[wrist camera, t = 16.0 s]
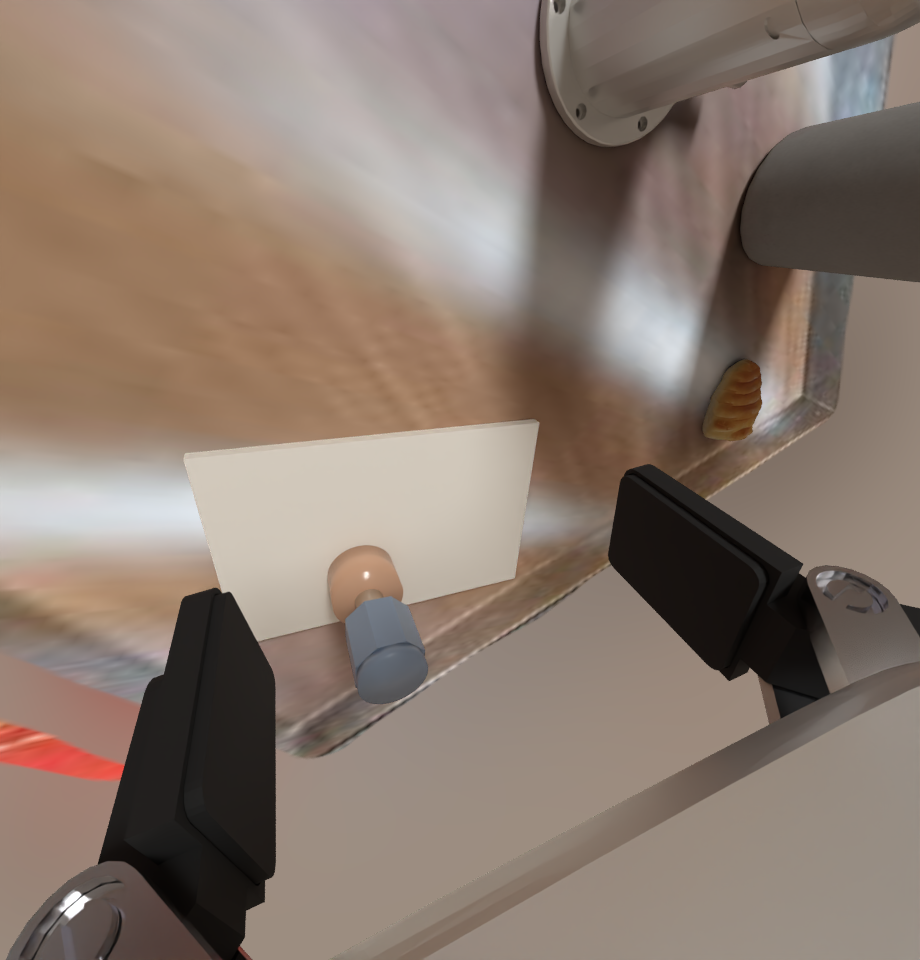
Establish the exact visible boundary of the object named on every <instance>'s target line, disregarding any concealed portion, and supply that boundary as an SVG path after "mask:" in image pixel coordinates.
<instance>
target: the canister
mask: <svg viewBox="0 0 920 960" xmlns="http://www.w3.org/2000/svg"><path fill="white" fill-rule="evenodd" d="M740 232H741V238H742V245H743V248H744V250H745V252H746V253H747V255H748V257H749V258H750V259H751V260H753V261H755V262H756V263H758V264H760V265H764V266H773V267H783V268H792V269H801V270H810V271H819V272H829V273H838V274H847V275H857V276H866V277H876V278H884V279H893V280H902V281H912V282H920V102H917V103H912V104H908V105H903V106H899V107H894V108H890V109H885V110H881V111H876V112H872V113H867V114H863V115H858V116H854V117H849V118H845V119H840V120H836V121H831V122H827V123H822V124H818V125H813V126H809V127H805V128H803V129H800V130H798V131H795V132H793V133H791V134H789V135H787V136H786V137H785V138H784V139H783V140H782V141H781V142H779V143H778V144H777V145H776V146H775V147H774V148H773V149H772V150H771V151H770V153H769V154H768V155H767V157H766V158H765V160H764V161H763V162H762V164H761V165H760V166H759V168H758V170H757V172H756V174H755V176H754V178H753V180H752V182H751V184H750V186H749V188H748V191H747V195H746V198H745V202H744V205H743V209H742V216H741V226H740Z"/></svg>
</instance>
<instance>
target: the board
mask: <svg viewBox="0 0 920 960" xmlns="http://www.w3.org/2000/svg"><path fill="white" fill-rule="evenodd" d="M538 428H539V422H538V421H536V420H535V419H529V420H518V421H508V422H498V423H488V424H478V425H468V426H457V427H447V428H437V429H427V430H417V431H407V432H397V433H386V434H376V435H366V436H356V437H346V438H336V439H326V440H315V441H305V442H295V443H285V444H275V445H265V446H254V447H244V448H234V449H224V450H214V451H204V452H194V453H185V455H184V458H183V460H184V464H185V467H186V471H187V474H188V477H189V481H190V484H191V488H192V491H193V494H194V498H195V501H196V505H197V508H198V512H199V515H200V518H201V522H202V525H203V529H204V532H205V535H206V539H207V542H208V546H209V549H210V553H211V556H212V559H213V563H214V566H215V570H216V573H217V576H218V580H219V583H220V587H221V590H222V593H225V592H231V593H232V595H233V596H234V598H235V600H236V602H237V604H238V606H239V608H240V610H241V612H242V613H243V615H244V617H245V619H246V621H247V623H248V625H249V627H250V629H251V631H252V632H253V634H254V636H255V638H256V640H257V642H258V641H262V640H266V639H270V638H274V637H278V636H282V635H286V634H290V633H294V632H298V631H302V630H306V629H310V628H315V627H319V626H323V625H327V624H331V623H335V622H339V621H340V620H339V619H338V618H337V617H336V616H335V614H334V612H333V607H332V601H331V596H330V590H329V585H328V580H327V574H328V569H329V567H330V565H331V563H332V562H333V561H334V560H335V558H336V557H338V556H339V555H340V554H341V553H343V552H344V551H346V550H348V549H350V548H353V547H357V546H363V545H371V546H376V547H379V548H382V549H383V550H385V551H386V552H387V553H388V554H389V555H390V557H391V559H392V561H393V564H394V566H395V569H396V571H397V574H398V577H399V579H400V582H401V584H402V587H403V598H402V601H401V602H402V603H404V604H405V605H408V604H412V603H416V602H420V601H424V600H428V599H432V598H437V597H441V596H445V595H449V594H453V593H457V592H461V591H465V590H469V589H473V588H477V587H481V586H485V585H489V584H493V583H498V582H502V581H506V580H510V579H514V578H515V573H516V567H517V560H518V554H519V548H520V542H521V535H522V529H523V523H524V516H525V510H526V504H527V497H528V491H529V485H530V479H531V472H532V466H533V460H534V453H535V447H536V441H537V434H538Z"/></svg>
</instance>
